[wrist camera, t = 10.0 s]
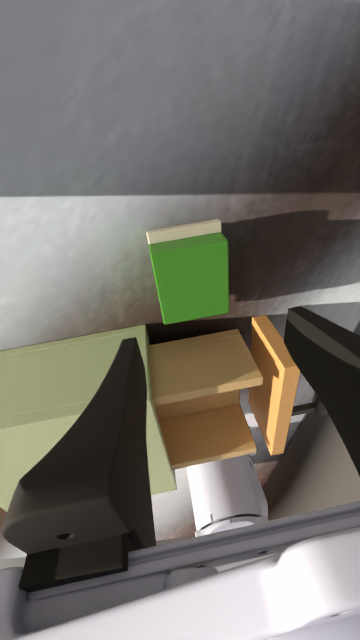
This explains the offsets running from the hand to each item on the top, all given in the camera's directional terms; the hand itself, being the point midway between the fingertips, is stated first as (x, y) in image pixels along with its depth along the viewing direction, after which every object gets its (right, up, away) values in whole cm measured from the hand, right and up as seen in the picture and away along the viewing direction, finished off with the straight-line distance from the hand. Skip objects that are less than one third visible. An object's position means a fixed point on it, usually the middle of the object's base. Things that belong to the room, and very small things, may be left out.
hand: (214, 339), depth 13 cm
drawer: (+3, -4, +13) cm, 14 cm away
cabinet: (-10, -6, +13) cm, 18 cm away
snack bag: (-1, +5, +7) cm, 9 cm away
